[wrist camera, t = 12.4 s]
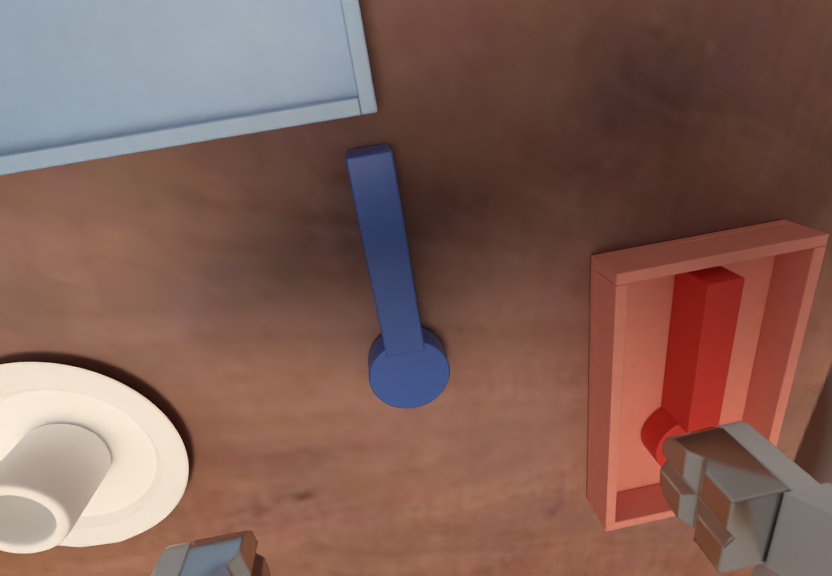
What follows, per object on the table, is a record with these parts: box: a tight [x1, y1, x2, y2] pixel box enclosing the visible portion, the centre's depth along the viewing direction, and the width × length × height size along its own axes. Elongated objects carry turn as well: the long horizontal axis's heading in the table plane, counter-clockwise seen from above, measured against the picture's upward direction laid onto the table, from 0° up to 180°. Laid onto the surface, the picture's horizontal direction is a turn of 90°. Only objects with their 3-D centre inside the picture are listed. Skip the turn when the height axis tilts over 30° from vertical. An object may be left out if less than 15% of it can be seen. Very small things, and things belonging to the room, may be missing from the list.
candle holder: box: [0, 362, 189, 553], centre depth 22 cm, size 12×12×4 cm
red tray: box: [587, 219, 829, 531], centre depth 26 cm, size 17×10×2 cm, turn 8°
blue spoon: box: [346, 143, 450, 408], centre depth 21 cm, size 13×4×2 cm, turn 8°
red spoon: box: [641, 266, 745, 467], centre depth 25 cm, size 13×4×2 cm, turn 8°
